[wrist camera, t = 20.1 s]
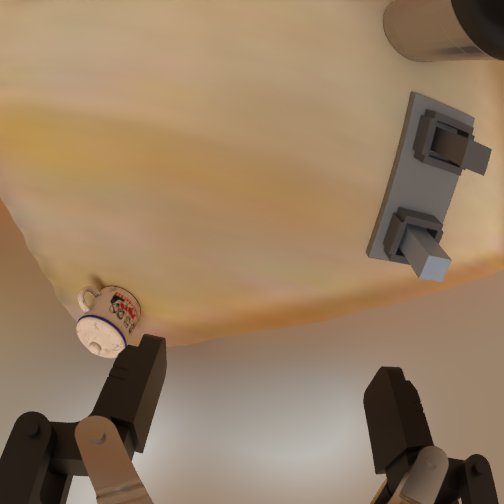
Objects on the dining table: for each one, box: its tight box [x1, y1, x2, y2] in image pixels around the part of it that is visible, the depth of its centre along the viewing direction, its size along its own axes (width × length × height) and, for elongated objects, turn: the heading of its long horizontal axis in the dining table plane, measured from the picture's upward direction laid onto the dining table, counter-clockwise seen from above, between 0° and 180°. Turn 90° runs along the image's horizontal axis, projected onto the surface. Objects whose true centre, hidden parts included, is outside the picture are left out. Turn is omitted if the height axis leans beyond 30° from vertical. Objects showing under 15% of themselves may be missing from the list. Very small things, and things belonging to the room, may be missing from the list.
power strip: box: [366, 92, 492, 265], centre depth 35 cm, size 24×10×11 cm, turn 171°
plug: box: [398, 223, 452, 282], centre depth 38 cm, size 3×4×10 cm
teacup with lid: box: [77, 286, 140, 358], centre depth 48 cm, size 12×9×12 cm
